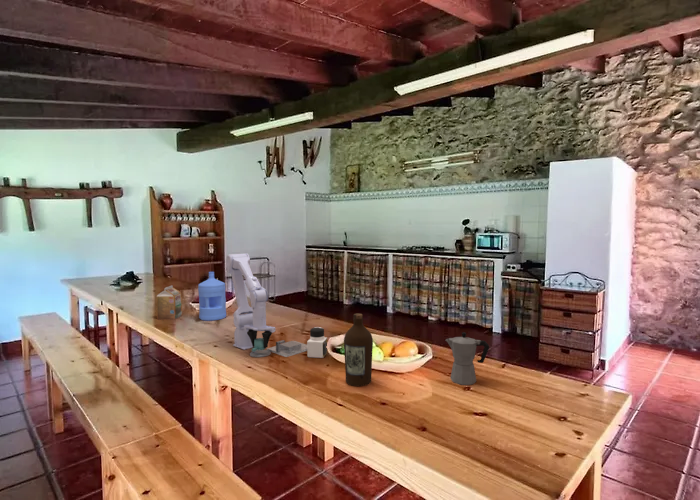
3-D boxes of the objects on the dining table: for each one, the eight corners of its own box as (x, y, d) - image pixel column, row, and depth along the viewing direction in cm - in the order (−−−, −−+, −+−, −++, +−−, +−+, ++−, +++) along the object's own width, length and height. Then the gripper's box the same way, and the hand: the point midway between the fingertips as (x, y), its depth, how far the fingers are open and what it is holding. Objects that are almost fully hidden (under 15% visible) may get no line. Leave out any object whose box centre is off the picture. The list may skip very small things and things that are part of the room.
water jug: (206, 314, 260) (205, 270, 258) (230, 315, 258) (229, 270, 256) (194, 320, 245) (192, 273, 242) (219, 321, 242) (217, 273, 240)
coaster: (245, 354, 183) (245, 353, 183) (262, 349, 190) (262, 348, 190) (257, 358, 177) (257, 357, 177) (274, 353, 184) (274, 352, 184)
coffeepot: (443, 382, 150) (443, 334, 149) (447, 373, 159) (447, 327, 158) (487, 388, 145) (488, 338, 143) (489, 379, 153) (490, 331, 152)
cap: (248, 351, 179) (247, 342, 179) (258, 346, 187) (258, 337, 186) (257, 352, 177) (257, 343, 177) (268, 347, 185) (268, 338, 184)
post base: (266, 350, 189) (266, 339, 188) (294, 342, 200) (294, 332, 200) (286, 357, 179) (285, 345, 179) (313, 348, 191) (313, 337, 190)
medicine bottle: (323, 358, 177) (322, 330, 176) (307, 357, 179) (306, 330, 178) (327, 352, 184) (327, 326, 183) (312, 351, 186) (311, 325, 185)
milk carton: (174, 319, 248) (173, 288, 246) (157, 319, 248) (155, 288, 246) (182, 315, 258) (180, 285, 257) (165, 315, 258) (164, 285, 257)
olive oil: (349, 374, 159) (348, 310, 157) (376, 377, 155) (375, 312, 153) (340, 385, 148) (339, 316, 146) (368, 388, 145) (368, 318, 143)
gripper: (239, 317, 181) (240, 348, 182) (269, 319, 176) (270, 351, 177) (248, 314, 187) (249, 343, 188) (277, 316, 183) (278, 346, 184)
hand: (260, 346), depth 183 cm, fingers closed on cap, 5 cm apart
